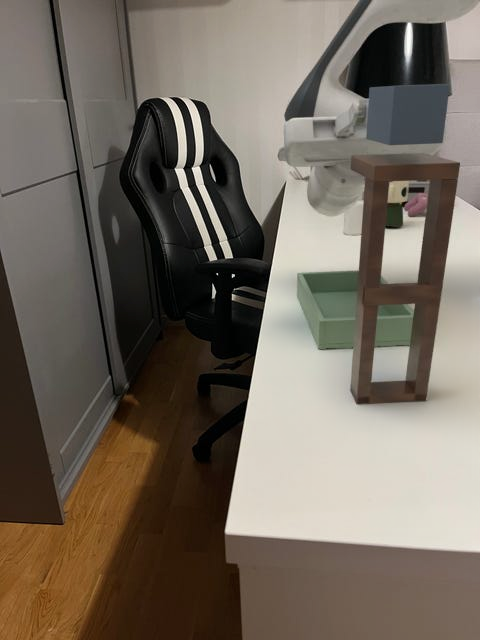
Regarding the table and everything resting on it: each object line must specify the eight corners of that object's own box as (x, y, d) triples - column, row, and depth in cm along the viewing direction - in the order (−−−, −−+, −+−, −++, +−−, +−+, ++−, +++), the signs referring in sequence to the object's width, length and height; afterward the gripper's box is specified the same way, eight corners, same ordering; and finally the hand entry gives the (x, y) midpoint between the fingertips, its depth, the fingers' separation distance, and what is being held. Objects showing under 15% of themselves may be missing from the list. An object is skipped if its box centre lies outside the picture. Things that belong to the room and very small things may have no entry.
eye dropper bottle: (344, 230, 129) (347, 183, 124) (367, 232, 127) (370, 183, 123) (342, 234, 125) (344, 186, 121) (365, 236, 124) (368, 186, 119)
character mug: (401, 232, 126) (407, 179, 121) (373, 230, 129) (377, 178, 124) (406, 222, 135) (412, 173, 130) (379, 221, 138) (384, 172, 133)
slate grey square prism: (388, 132, 61) (392, 87, 59) (442, 143, 46) (450, 83, 44) (348, 134, 61) (350, 89, 59) (389, 145, 46) (394, 85, 44)
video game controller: (420, 222, 141) (435, 200, 138) (406, 215, 141) (420, 192, 138) (415, 215, 150) (429, 194, 147) (402, 208, 150) (415, 187, 147)
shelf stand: (399, 362, 65) (424, 153, 54) (426, 400, 57) (460, 162, 46) (338, 365, 65) (351, 155, 54) (356, 404, 57) (375, 165, 46)
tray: (373, 292, 88) (375, 269, 86) (415, 345, 69) (419, 316, 68) (296, 296, 88) (297, 272, 86) (318, 349, 69) (319, 321, 67)
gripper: (275, 140, 71) (285, 84, 57) (418, 135, 71) (463, 78, 57) (277, 183, 70) (289, 137, 56) (422, 178, 70) (468, 130, 57)
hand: (378, 107), depth 57 cm, fingers closed on slate grey square prism, 3 cm apart
